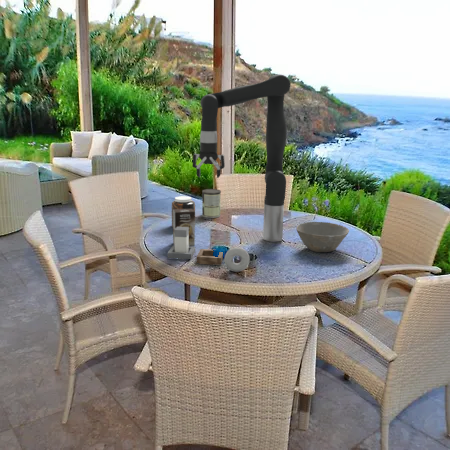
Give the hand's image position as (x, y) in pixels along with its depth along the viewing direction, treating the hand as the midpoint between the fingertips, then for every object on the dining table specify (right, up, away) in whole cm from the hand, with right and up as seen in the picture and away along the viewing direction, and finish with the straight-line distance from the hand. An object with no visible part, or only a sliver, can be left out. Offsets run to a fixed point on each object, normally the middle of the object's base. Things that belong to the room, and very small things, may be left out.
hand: (208, 177), depth 225 cm
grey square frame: (-11, -34, -12) cm, 38 cm away
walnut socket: (+1, -36, -17) cm, 40 cm away
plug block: (-11, -35, -12) cm, 38 cm away
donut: (+12, -40, -29) cm, 51 cm away
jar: (-14, -22, +31) cm, 41 cm away
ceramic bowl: (+51, -33, -1) cm, 60 cm away
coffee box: (-11, -31, +3) cm, 33 cm away
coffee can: (0, -16, +53) cm, 55 cm away
